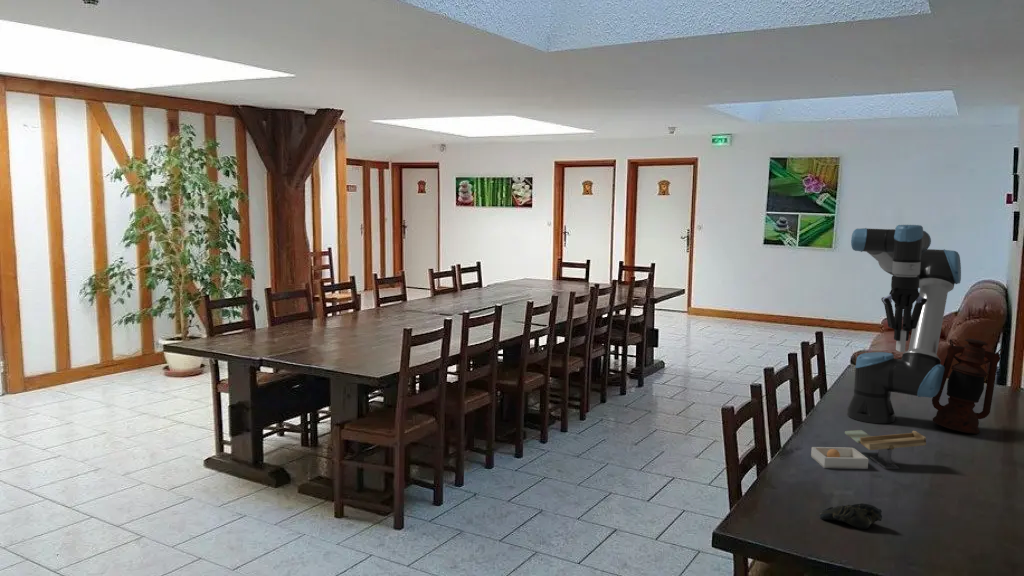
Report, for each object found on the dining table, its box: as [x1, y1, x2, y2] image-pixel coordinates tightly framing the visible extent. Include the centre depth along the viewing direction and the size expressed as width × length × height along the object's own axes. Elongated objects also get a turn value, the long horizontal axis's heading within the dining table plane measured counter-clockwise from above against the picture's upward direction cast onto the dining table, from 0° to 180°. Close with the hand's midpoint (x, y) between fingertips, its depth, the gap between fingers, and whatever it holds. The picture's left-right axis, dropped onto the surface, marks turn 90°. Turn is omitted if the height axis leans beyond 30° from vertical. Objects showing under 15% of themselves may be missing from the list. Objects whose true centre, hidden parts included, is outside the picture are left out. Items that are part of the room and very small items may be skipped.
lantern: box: [931, 337, 1004, 435], centre depth 241 cm, size 17×14×30 cm
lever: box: [844, 429, 927, 451], centre depth 213 cm, size 16×16×2 cm
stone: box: [818, 503, 883, 530], centre depth 170 cm, size 7×13×5 cm, turn 66°
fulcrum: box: [869, 448, 900, 470], centre depth 210 cm, size 9×4×5 cm, turn 179°
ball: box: [827, 449, 840, 457], centre depth 210 cm, size 4×4×4 cm
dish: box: [810, 446, 869, 470], centre depth 210 cm, size 9×12×3 cm
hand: (900, 350), depth 223 cm, fingers closed
